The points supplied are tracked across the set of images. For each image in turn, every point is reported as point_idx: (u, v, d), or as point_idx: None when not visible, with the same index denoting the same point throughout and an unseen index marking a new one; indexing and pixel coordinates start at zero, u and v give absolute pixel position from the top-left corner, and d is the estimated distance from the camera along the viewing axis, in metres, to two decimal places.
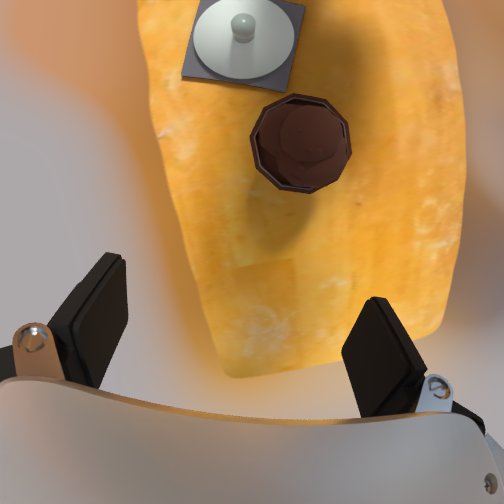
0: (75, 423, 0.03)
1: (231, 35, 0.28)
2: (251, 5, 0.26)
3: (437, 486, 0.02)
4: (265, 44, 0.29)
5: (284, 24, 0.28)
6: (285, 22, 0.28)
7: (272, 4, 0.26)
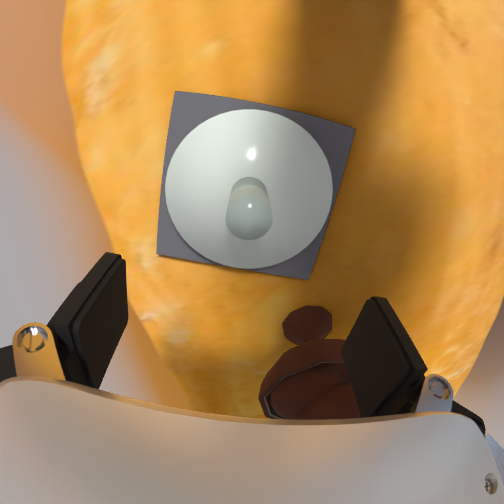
0: (75, 423, 0.03)
1: (228, 196, 0.22)
2: (262, 132, 0.19)
3: (437, 486, 0.02)
4: (284, 213, 0.22)
5: (318, 174, 0.21)
6: (320, 169, 0.21)
7: (300, 130, 0.19)
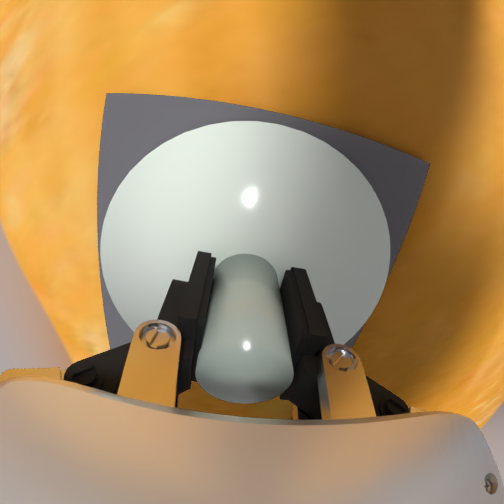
0: (75, 423, 0.03)
1: None
2: (270, 168, 0.10)
3: (437, 486, 0.02)
4: None
5: (369, 245, 0.11)
6: (374, 237, 0.11)
7: (345, 165, 0.10)
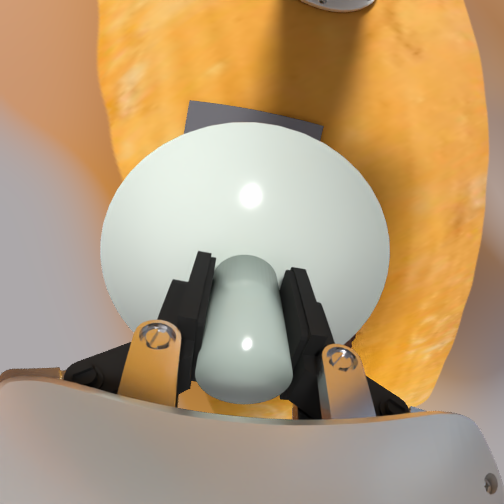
0: (75, 423, 0.03)
1: None
2: (269, 170, 0.10)
3: (437, 486, 0.02)
4: None
5: (369, 246, 0.11)
6: (373, 238, 0.11)
7: (344, 167, 0.10)
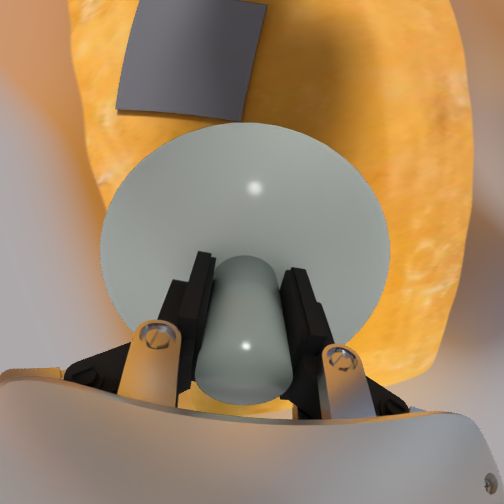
0: (75, 423, 0.03)
1: None
2: (269, 170, 0.10)
3: (437, 486, 0.02)
4: None
5: (369, 247, 0.11)
6: (373, 239, 0.11)
7: (344, 167, 0.10)
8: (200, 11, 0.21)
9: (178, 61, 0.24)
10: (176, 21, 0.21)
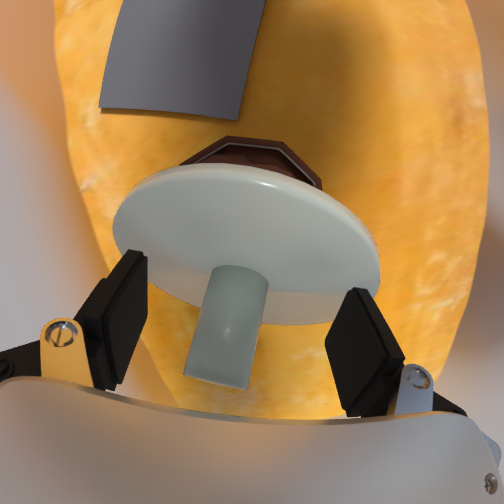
0: (75, 423, 0.03)
1: (209, 275, 0.14)
2: (261, 222, 0.10)
3: (437, 486, 0.02)
4: (293, 301, 0.15)
5: (358, 282, 0.12)
6: (363, 279, 0.11)
7: (344, 232, 0.09)
8: None
9: (167, 53, 0.20)
10: (166, 9, 0.18)
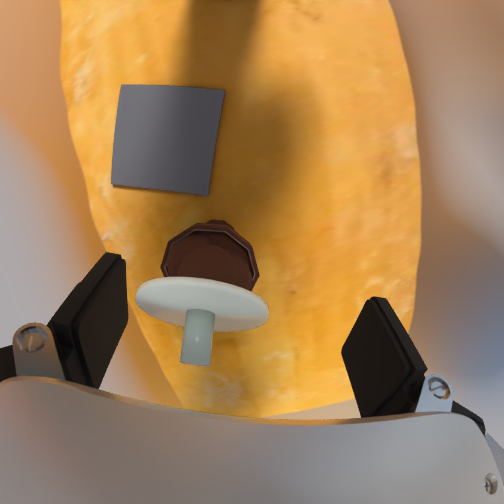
0: (75, 423, 0.03)
1: (185, 313, 0.27)
2: (200, 295, 0.23)
3: (437, 486, 0.02)
4: (230, 320, 0.28)
5: (254, 310, 0.25)
6: (256, 309, 0.25)
7: (234, 296, 0.23)
8: (170, 99, 0.31)
9: (156, 146, 0.34)
10: (152, 109, 0.32)
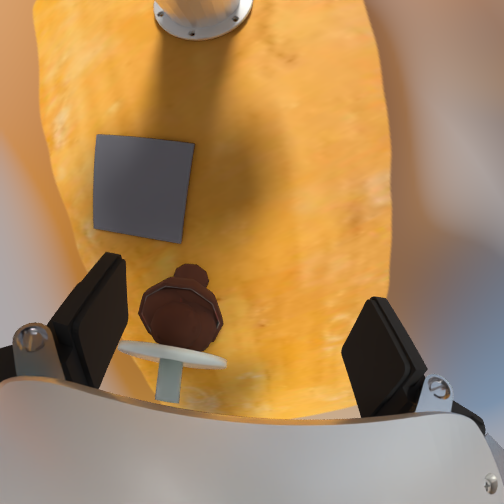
0: (75, 423, 0.03)
1: (159, 359, 0.31)
2: (168, 355, 0.27)
3: (437, 486, 0.02)
4: (196, 365, 0.32)
5: (213, 364, 0.29)
6: (214, 363, 0.29)
7: (194, 358, 0.26)
8: (143, 152, 0.34)
9: (132, 196, 0.36)
10: (126, 161, 0.34)
